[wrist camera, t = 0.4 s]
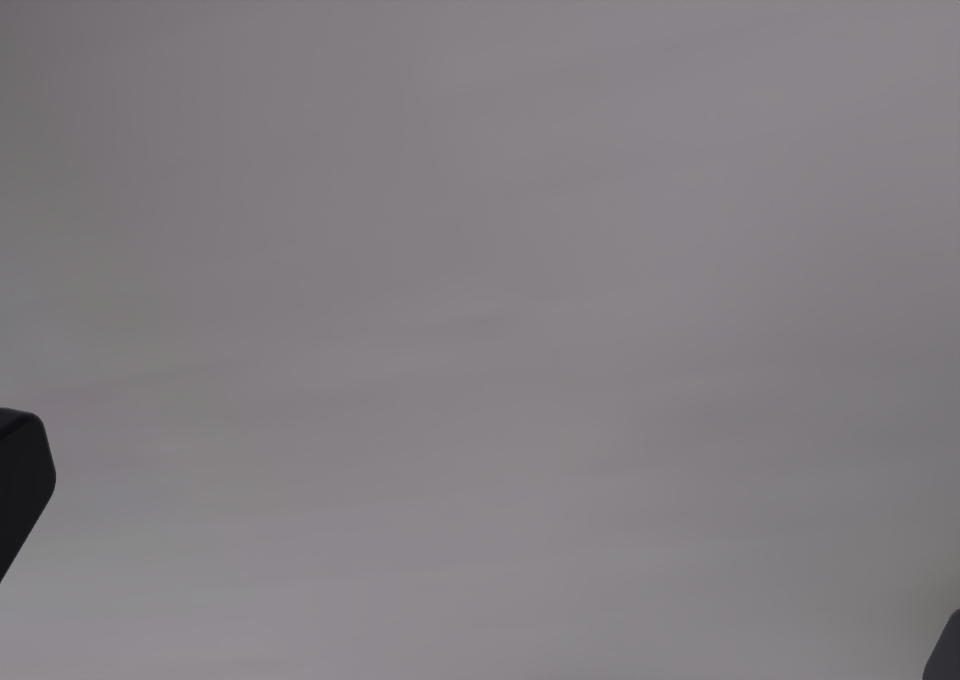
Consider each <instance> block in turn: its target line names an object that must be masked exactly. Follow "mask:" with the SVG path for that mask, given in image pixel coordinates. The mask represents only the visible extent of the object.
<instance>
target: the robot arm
mask: <svg viewBox="0 0 960 680" xmlns="http://www.w3.org/2000/svg"><path fill="white" fill-rule="evenodd" d="M55 483H56V471H55V467H54V463H53V459H52V455H51V451H50V447H49V443H48V439H47V435H46V431H45V427H44V424H43V422H42V421H41V419H40V418H39V417H38V416H37V415H35V414H33V413H29V412H25V411H20V410H15V409H10V408H0V583H1V581H2V579H3V578H4V576H5V574H6V572H7V571H8V569H9V567H10V566H11V564H12V562H13V561H14V559H15V557H16V556H17V554H18V552H19V551H20V549H21V547H22V546H23V544H24V542H25V540H26V539H27V537H28V535H29V534H30V532H31V530H32V529H33V527H34V525H35V524H36V522H37V520H38V519H39V517H40V515H41V514H42V512H43V510H44V508H45V507H46V505H47V503H48V502H49V500H50V498H51V496H52V494H53V491H54V488H55ZM922 680H960V609H958V610H956V611H955V612H954V613H953V614H952V615H951V617H950V618H949V620H948V622H947V624H946V626H945V628H944V630H943V632H942V634H941V636H940V638H939V640H938V642H937V644H936V646H935V648H934V650H933V652H932V654H931V656H930V658H929V660H928V662H927V664H926V666H925V669H924V673H923V678H922Z"/></svg>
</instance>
